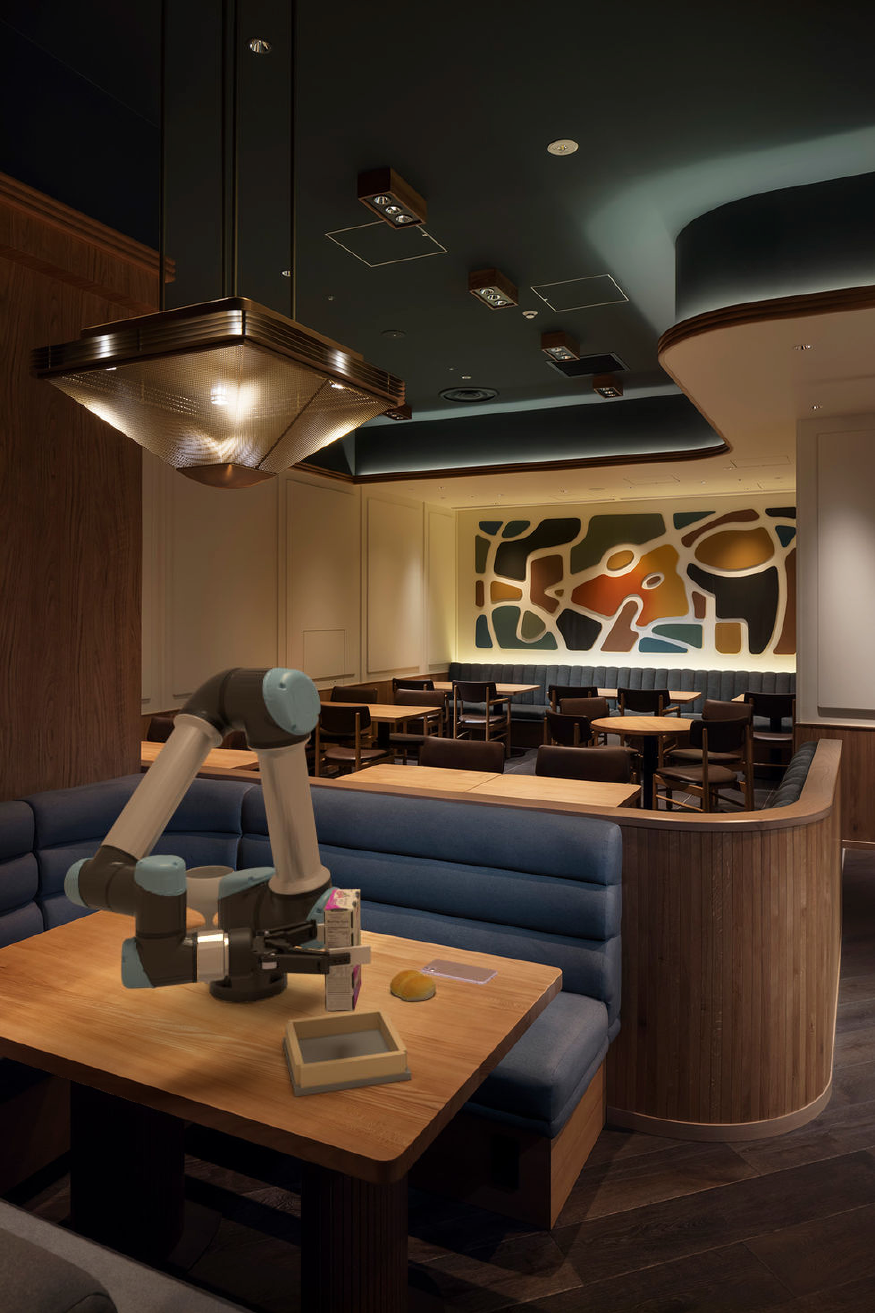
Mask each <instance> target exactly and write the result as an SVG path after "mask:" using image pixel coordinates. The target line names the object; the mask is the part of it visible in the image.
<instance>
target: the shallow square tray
mask: <svg viewBox="0 0 875 1313" xmlns="http://www.w3.org/2000/svg"><path fill="white" fill-rule="evenodd" d="M284 1025H285V1026H284V1027H285V1028H284V1029H285V1031H284V1032H285V1034H284V1035H285V1037H282V1046H283V1049H284V1053H285V1054H284V1055H285V1058H286V1063H287V1066H288V1071H289V1075H290V1079H291V1080H290V1081H291V1084H292V1089H293V1093H294V1096H295V1097H301V1096H302V1097H303V1096H309V1095H317V1094H321V1093H322V1094H324V1093H329V1092H338V1091H341V1090H349V1089H356V1088H363V1087H369V1086H376V1085H383V1084H388V1083H394V1082H402V1081H408V1080H412V1072H411V1069H410V1067H409V1066H408V1048H407V1047H406V1045H405V1044H404V1041H403V1040H402V1038H401V1036H400V1034H399V1033H398V1030H397V1029H396V1027H395V1025H394V1023H393V1021H392V1019H391V1017H390V1015H389V1014H388V1011H387V1010H383V1009H382V1008H373V1009H367V1010H366V1009H365V1010H359V1011H358V1010H357V1011H347V1012H339V1013H334V1014H328V1015H327V1014H326V1015H318V1016H308V1017H301V1018H294V1019H288V1020H287V1023H286V1022H285V1024H284Z"/></svg>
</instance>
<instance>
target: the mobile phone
mask: <svg viewBox="0 0 875 1313" xmlns="http://www.w3.org/2000/svg"><path fill="white" fill-rule="evenodd" d="M420 973H421V974H427V975H431V976H437V977H441V978H446V979H451V980H455V981H460V982H465V983H472V984H475V985H485V984H487V983H488V982H490V981H491V980H492V979H494V978H495V977H496V976H497V975H498V971H497V970H496V969H491V968H487V967H481V966H476V965H471V964H465V963H460V962H456V961H455V962H454V961H450V960H445V959H440V958H439V959H438V958H436V959H435V958H434V960H432V961H430V962H428V963H427V964H426V965H424V966H423V967H421V969H420Z"/></svg>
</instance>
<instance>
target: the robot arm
mask: <svg viewBox="0 0 875 1313" xmlns="http://www.w3.org/2000/svg"><path fill="white" fill-rule="evenodd" d="M320 713H321V698H320V695H319V692H318V688H317V686H316V684H315V683H314V681H313V679H311V677H310V676H309V675H306V673H305V672H303V671H301V670H299V669H294V668H286V667H245V668H244V667H231V668H228V669H227V668H226V669H224V670H221V671H220V672H217V673H215V674H214V675H212V676H210V678H208V679H207V680H205V681H204V682H203V683H202V684H201V685H200V686H199V687H197V688H196V690H194V692H193V693H191V695H190V696H189V697H188V698H187V699H186V701H184V704H183V705H182V706H181V708H180V709H179V711H178V712H177V714H176V715H175V717H174V718H173V725H174V728H173V730H172V732H171V733H170V735H169V737H168V739H167V740H166V741H165V743H164V744H163V746H162V747H161V749H160V751H159V753H158V755H157V756H156V757H155V759H154V760H153V762H152V764H150V767H149V768H148V770H147V772H146V773H145V774H144V776H143V778H142V779H141V781H140V782H139V785H138V786H137V787H136V789H135V791H134V792H133V794H132V795H131V797H130V799H129V800H128V802H127V803H126V805H125V807H124V808H123V809H122V811H121V813H119V816H118V817H117V819H116V821H115V822H114V824H113V825H112V827H111V829H110V830H109V832H108V834H107V835H105V838H104V839H103V841H102V843H101V844H100V847H99V848H98V849H97V851H96V853H95V854H94V855H93V857H88V858H87V857H86V858H81V859H80V860H78V861H76V862H75V863H74V864H72V865H71V866H70V867H69V868H68V871H67V872H66V875H65V878H64V883H63V884H64V886H63V887H64V892H65V893H64V894H65V895H66V897H67V899H69V901H70V902H71V903H73V904H74V905H78V906H81V907H83V908H86V909H89V910H97V911H104V912H110V913H114V914H118V915H125V916H129V917H133V918H134V925H135V928H134V930H135V931H134V932H135V935H134V936H132V937H128V938H125V939H124V940H123V941H122V946H121V954H120V955H121V956H120V958H121V961H120V962H121V963H120V972H121V973H120V976H121V977H120V978H121V983H122V985H123V986H124V987H125V988H126V989H128V990H132V989H133V990H134V989H157V988H163V987H164V988H165V987H173V986H179V985H181V986H182V985H187V984H197V983H204V984H205V985H209V993H210V995H211V996H212V997H213V998H215V999H217V1000H218V1001H219V1000H220V1001H223V1002H228V1003H253V1002H259V1001H265V1000H268V999H270V998H274V997H275V996H278V995H279V994H282V992H283V991H285V990H286V989H287V987H288V984H289V983H288V974H296V975H297V974H299V975H319V976H320V975H321V976H325V975H328V974H329V973H330V968H332V967H342V966H351V965H361V966H362V965H369V964H372V963H371V960H372V958H371V957H372V954H371V953H372V951H371V950H372V949H371V948H372V946H371V944H364V945H362V944H361V946H351V947H341V948H331V949H329V952H327V951H324V908H325V906H326V904H327V902H328V900H329V898H330V896H331V893H332V891H333V890H334V889H340V888H339V887H336V886H333V885H332V877H331V872H330V870H329V869H328V868H327V867H326V866H323V865H322V864H321V863H322V862H321V859H320V851H319V849H320V848H319V844H318V836H317V829H316V827H317V826H316V822H315V815H314V808H313V800H312V794H311V793H312V792H311V786H310V779H309V770H308V765H307V764H308V763H307V757H306V749H305V746H306V745H307V743H308V742H309V741H310V739H311V737H312V735H311V732H312V731H313V730H314V729H315V728H316V726H317V725H318V723H319V719H320V718H319V716H318V715H320ZM235 731H237V732H238V731H240V732H244V734H245V739H246V746H247V748H248V749H249V750H251V751H252V752H253V753H255V754H256V756H257V761H258V770H259V774H260V780H261V788H262V794H263V801H264V807H265V814H266V815H265V816H266V820H267V827H268V828H267V829H268V834H269V841H270V846H271V854H272V860H273V866H274V867H271V866H261V867H254V868H251V867H250V868H247V869H242V870H238V871H235V872H233V873H230V874H228V875H226V876H224V877H223V878H222V879H221V880H220V882H219V888H218V897H217V900H218V912H217V925H218V930H212V931H202V932H198V943H197V932H193V933H187V932H186V931H187V922H188V920H187V915H188V914H187V912H188V911H187V910H188V907H187V887H188V885H187V884H188V883H187V880H186V871H187V869H186V861H185V860H184V859H183V858H181V857H180V856H177V855H171V854H170V855H169V854H168V855H167V854H166V855H165V854H159V855H150V854H151V852H152V850H153V848H154V847H155V846H156V843H157V842H158V840H159V839H160V837H161V835H162V833H163V832H164V830H165V829H166V827H167V825H168V823H169V821H170V820H171V818H172V816H173V815H174V814H175V812H176V810H177V809H178V807H179V805H180V803H181V802H182V800H183V799H184V797H185V795H186V793H187V791H188V790H189V788H190V787H191V785H192V783H193V782H194V780H195V778H196V776H197V774H198V773H199V771H200V770H201V768H202V766H203V764H204V763H205V761H206V760H207V758H208V756H209V754H210V753H211V751H212V749H214V748H218V747H221V745H222V744H223V742H224V740H225V738H226V737H227V736H228V735H229V734H231V733H233V732H235Z"/></svg>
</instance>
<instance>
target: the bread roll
mask: <svg viewBox="0 0 875 1313" xmlns="http://www.w3.org/2000/svg"><path fill="white" fill-rule="evenodd" d="M389 989H390V991H391V992H392V994H393V995H394V996H396V997H398V998H400V999H401V1000H403V1001H406V1002H418V1001H419V1002H420V1001H426V1000H429V999H430V998H432V997H433V996H434V994H435V993H436V989H437V988H436V983H435V981H434V980H433V978H432V977H430V976H427V975H423V973H422V972H419V971H418V970H413V969H406V970H403V971H400V972H399V973H397V974H396V975H395V976H394V977H393V978H392V979H391V982H390V984H389Z"/></svg>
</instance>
